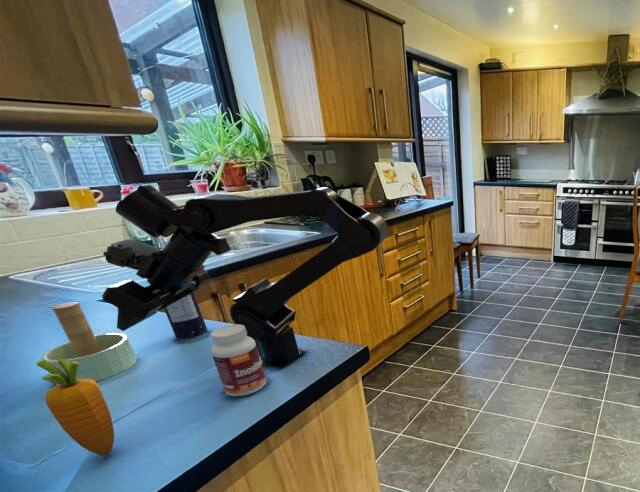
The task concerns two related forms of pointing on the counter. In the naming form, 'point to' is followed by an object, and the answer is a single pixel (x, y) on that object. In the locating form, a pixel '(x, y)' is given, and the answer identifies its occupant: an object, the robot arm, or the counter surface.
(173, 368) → the counter surface
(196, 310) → the dark blue jar
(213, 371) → the counter surface
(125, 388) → the counter surface
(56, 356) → the bowl
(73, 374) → the carrot
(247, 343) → the pill bottle
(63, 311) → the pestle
